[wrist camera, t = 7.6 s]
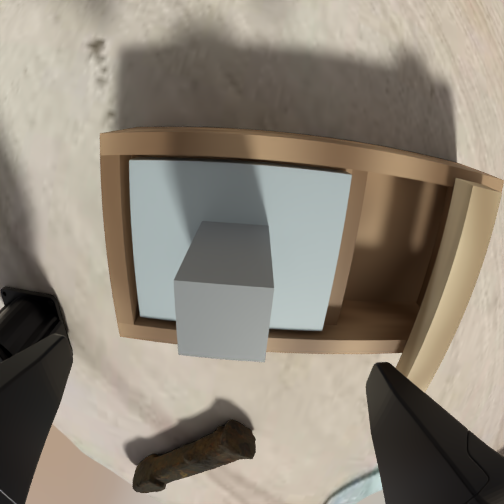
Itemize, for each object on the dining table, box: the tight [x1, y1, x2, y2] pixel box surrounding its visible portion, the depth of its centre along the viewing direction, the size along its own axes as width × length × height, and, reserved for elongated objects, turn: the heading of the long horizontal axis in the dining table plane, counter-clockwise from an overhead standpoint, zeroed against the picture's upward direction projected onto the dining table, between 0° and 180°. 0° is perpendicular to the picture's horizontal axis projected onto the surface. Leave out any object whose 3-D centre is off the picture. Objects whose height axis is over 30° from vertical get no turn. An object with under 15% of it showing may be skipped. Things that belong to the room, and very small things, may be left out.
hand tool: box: [133, 420, 256, 493], centre depth 28 cm, size 19×4×5 cm, turn 130°
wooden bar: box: [396, 178, 502, 393], centre depth 15 cm, size 2×16×2 cm, turn 176°
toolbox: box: [100, 127, 504, 354], centre depth 17 cm, size 20×11×5 cm, turn 86°
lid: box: [129, 157, 352, 362], centre depth 13 cm, size 10×8×6 cm
